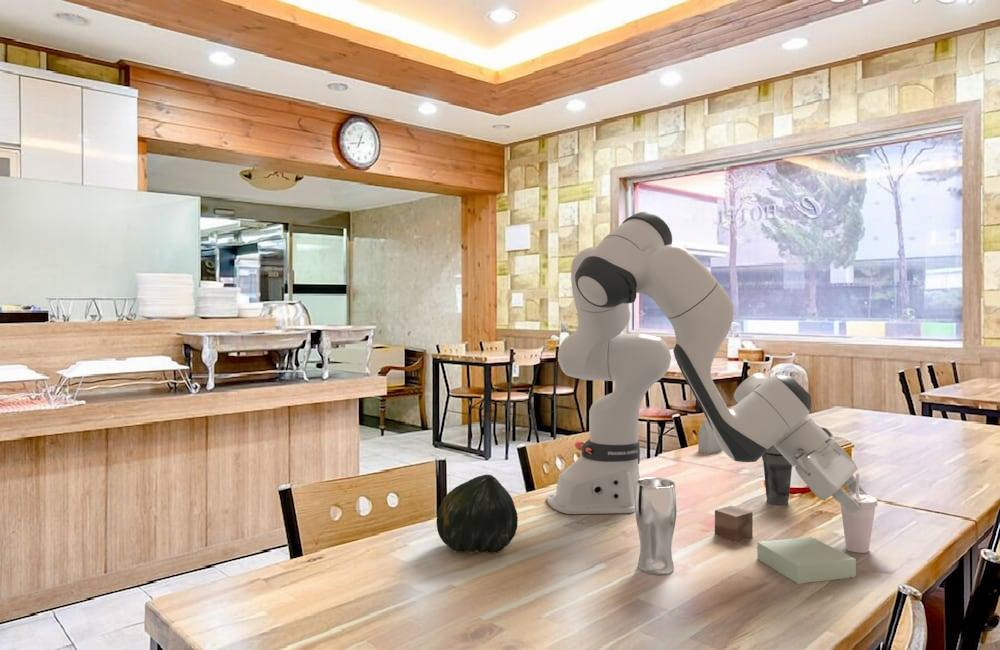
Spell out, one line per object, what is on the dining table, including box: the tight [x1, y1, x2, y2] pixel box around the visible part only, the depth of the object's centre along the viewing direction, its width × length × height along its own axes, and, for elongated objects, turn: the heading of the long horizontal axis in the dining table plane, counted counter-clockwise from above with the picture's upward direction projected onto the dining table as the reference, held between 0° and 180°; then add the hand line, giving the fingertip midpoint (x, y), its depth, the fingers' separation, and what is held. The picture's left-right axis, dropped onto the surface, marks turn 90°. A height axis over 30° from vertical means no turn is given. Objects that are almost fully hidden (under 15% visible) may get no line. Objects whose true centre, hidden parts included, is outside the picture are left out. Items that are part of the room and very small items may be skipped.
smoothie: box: [840, 472, 878, 554], centre depth 122 cm, size 6×6×14 cm
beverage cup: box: [761, 445, 793, 506], centre depth 151 cm, size 7×7×20 cm
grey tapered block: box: [697, 418, 723, 454], centre depth 204 cm, size 4×7×10 cm, turn 124°
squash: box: [436, 474, 519, 554], centre depth 124 cm, size 14×15×15 cm
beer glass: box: [634, 477, 678, 576], centre depth 114 cm, size 7×7×15 cm
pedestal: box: [756, 536, 857, 584], centre depth 114 cm, size 11×11×3 cm
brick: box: [714, 505, 754, 543], centre depth 130 cm, size 5×5×5 cm
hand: (861, 504), depth 122 cm, fingers closed on smoothie, 6 cm apart
